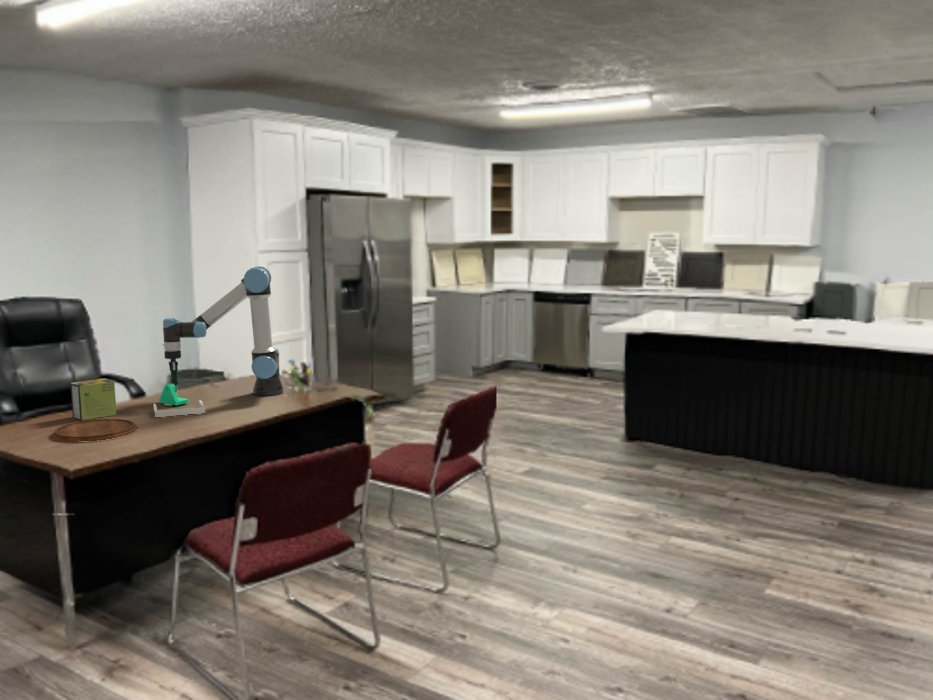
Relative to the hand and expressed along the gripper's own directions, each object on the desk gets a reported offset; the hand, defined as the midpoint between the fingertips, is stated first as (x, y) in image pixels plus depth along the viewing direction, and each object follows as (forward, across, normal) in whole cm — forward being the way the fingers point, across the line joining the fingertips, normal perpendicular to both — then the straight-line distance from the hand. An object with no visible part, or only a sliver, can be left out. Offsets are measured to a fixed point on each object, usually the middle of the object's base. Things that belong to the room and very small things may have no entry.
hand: (175, 398), depth 378 cm
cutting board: (+2, +52, -33) cm, 61 cm away
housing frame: (+1, +26, 0) cm, 26 cm away
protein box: (+2, +20, -35) cm, 40 cm away
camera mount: (+2, +8, -1) cm, 8 cm away
